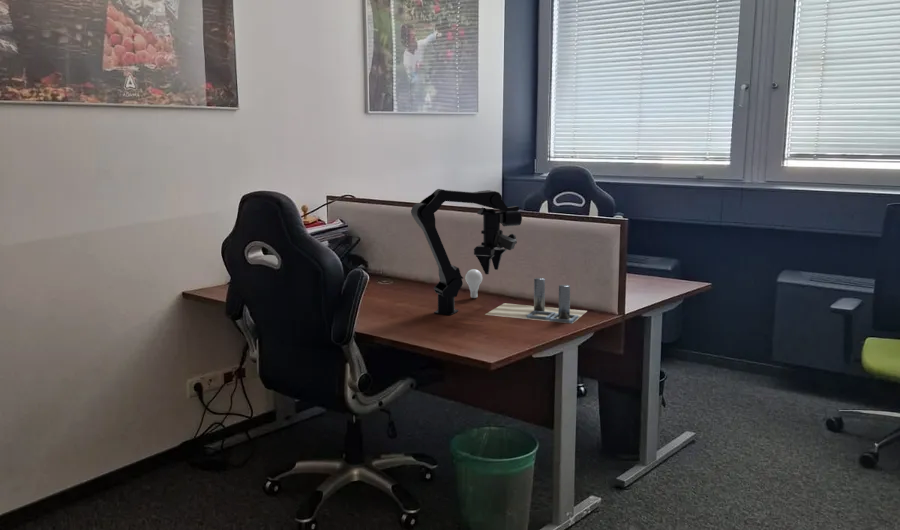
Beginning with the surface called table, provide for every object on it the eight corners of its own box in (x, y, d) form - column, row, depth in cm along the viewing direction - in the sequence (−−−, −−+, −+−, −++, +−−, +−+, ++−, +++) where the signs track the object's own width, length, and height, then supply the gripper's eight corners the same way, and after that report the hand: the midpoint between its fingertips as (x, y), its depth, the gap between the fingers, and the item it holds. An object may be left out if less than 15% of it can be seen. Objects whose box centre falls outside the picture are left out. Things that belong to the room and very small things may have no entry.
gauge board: (572, 327, 237) (572, 320, 236) (484, 318, 249) (484, 312, 249) (587, 314, 253) (587, 308, 252) (504, 306, 265) (504, 301, 265)
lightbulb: (482, 300, 275) (482, 270, 273) (465, 300, 275) (465, 270, 274) (482, 296, 282) (482, 267, 280) (465, 296, 282) (465, 267, 280)
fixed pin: (567, 321, 239) (568, 287, 237) (556, 320, 241) (557, 286, 239) (571, 318, 242) (571, 285, 240) (560, 317, 244) (560, 284, 242)
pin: (542, 312, 251) (543, 280, 249) (532, 311, 252) (532, 279, 250) (546, 310, 254) (546, 278, 252) (535, 309, 256) (536, 277, 254)
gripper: (504, 231, 246) (504, 278, 249) (522, 224, 263) (522, 268, 266) (473, 230, 251) (473, 276, 254) (492, 223, 268) (492, 266, 270)
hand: (491, 271), depth 261 cm, fingers open, 9 cm apart
